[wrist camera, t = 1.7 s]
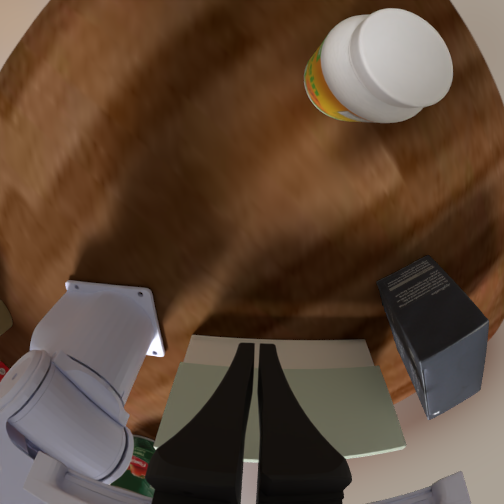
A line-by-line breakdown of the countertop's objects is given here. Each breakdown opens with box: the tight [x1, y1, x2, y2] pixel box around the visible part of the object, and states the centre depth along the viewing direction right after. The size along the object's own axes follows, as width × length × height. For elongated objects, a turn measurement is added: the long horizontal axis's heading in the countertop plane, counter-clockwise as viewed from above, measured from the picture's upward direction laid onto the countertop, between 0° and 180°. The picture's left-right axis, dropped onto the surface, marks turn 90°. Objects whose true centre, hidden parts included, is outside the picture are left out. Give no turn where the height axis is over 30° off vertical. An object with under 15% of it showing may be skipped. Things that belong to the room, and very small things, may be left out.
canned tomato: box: [110, 435, 156, 498], centre depth 33 cm, size 8×8×11 cm
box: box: [376, 255, 489, 420], centre depth 18 cm, size 9×6×10 cm, turn 30°
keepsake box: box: [184, 335, 374, 369], centre depth 25 cm, size 16×8×4 cm, turn 89°
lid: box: [153, 362, 406, 463], centre depth 17 cm, size 16×8×1 cm
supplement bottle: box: [304, 8, 453, 123], centre depth 11 cm, size 5×5×10 cm
